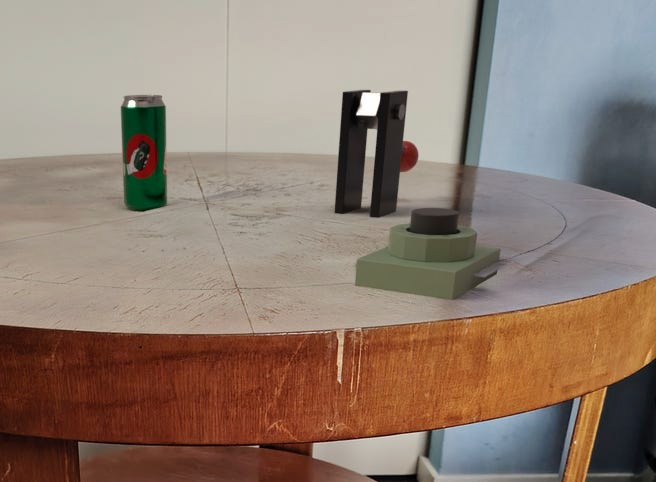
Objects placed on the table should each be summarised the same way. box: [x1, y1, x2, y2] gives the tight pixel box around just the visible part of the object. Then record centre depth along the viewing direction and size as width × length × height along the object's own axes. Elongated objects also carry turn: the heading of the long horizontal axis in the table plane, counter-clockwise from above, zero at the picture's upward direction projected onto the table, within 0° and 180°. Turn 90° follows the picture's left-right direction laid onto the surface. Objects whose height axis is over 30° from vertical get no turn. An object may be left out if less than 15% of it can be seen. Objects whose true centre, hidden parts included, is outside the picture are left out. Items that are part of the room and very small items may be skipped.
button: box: [409, 207, 460, 235], centre depth 70 cm, size 4×4×2 cm
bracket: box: [334, 89, 409, 219], centre depth 92 cm, size 9×11×13 cm
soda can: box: [120, 94, 168, 212], centre depth 103 cm, size 5×5×12 cm
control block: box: [354, 222, 501, 301], centre depth 72 cm, size 8×10×4 cm
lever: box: [356, 91, 420, 173], centre depth 94 cm, size 13×3×3 cm
